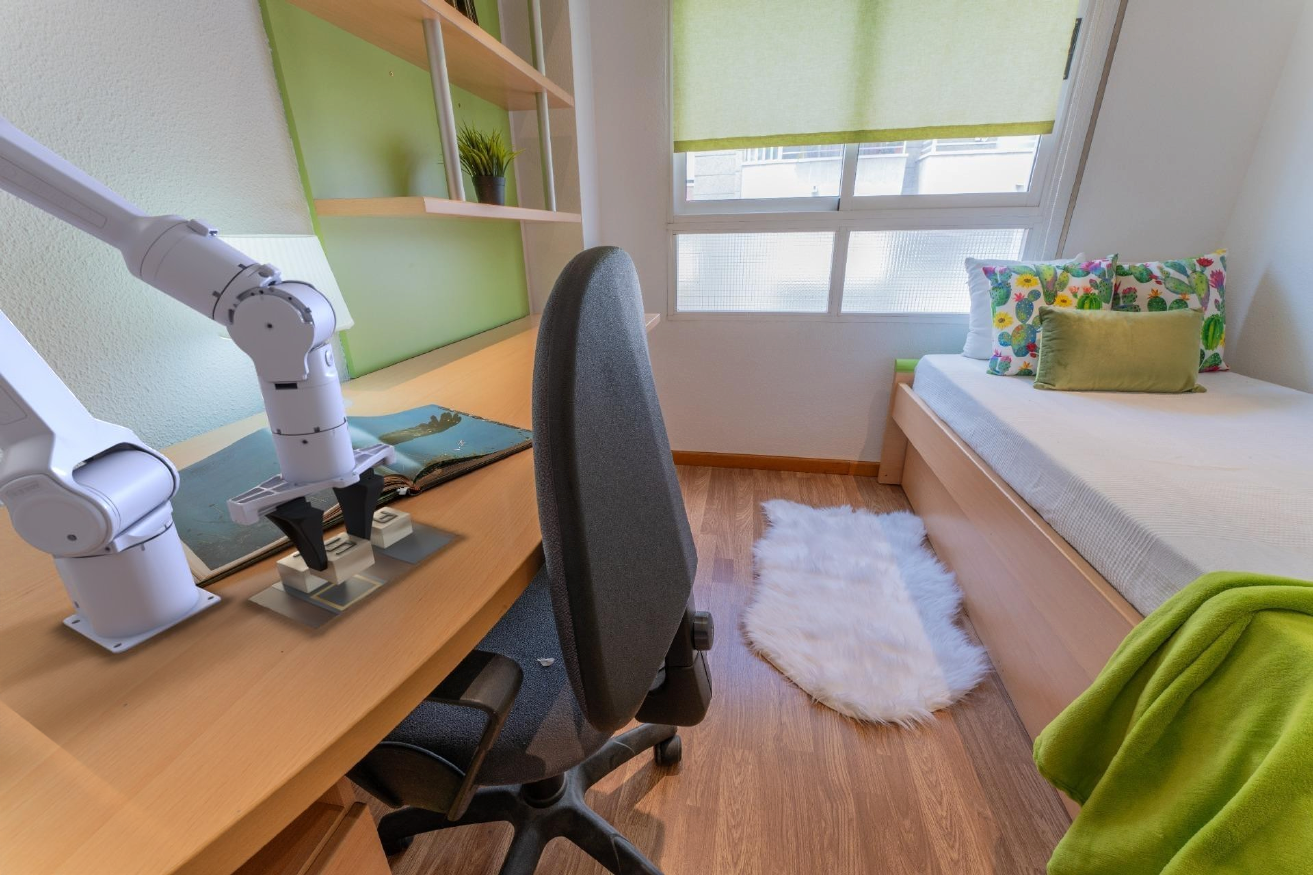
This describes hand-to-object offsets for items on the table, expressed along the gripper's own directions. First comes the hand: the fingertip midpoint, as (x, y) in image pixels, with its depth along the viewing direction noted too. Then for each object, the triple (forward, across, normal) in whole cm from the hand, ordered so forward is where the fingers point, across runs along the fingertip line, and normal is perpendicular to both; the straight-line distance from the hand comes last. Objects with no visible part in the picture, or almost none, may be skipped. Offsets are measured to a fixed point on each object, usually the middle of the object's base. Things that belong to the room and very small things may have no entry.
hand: (339, 555), depth 51 cm
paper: (+5, +25, +14) cm, 29 cm away
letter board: (+5, +4, +2) cm, 7 cm away
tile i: (+4, 0, +5) cm, 6 cm away
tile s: (+2, 0, 0) cm, 2 cm away
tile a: (+4, +9, +5) cm, 11 cm away
